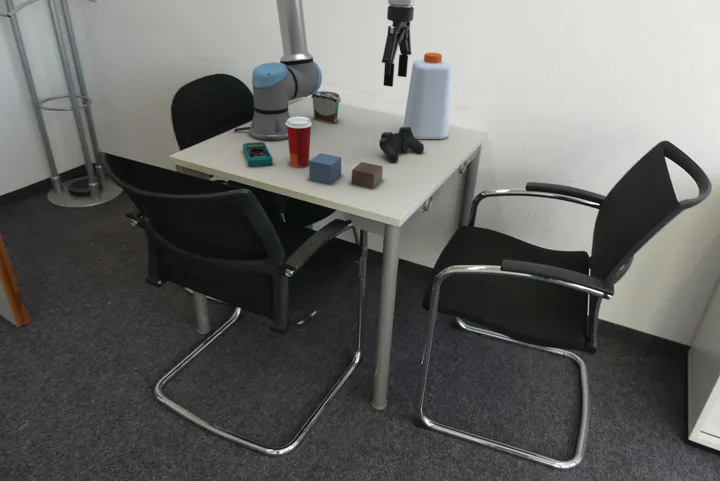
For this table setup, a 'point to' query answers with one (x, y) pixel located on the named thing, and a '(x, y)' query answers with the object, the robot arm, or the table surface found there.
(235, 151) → the table surface
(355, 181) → the walnut block
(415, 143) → the game controller
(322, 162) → the slate block
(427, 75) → the plastic bottle
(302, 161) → the paper cup
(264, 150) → the digital multimeter
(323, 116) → the food container
